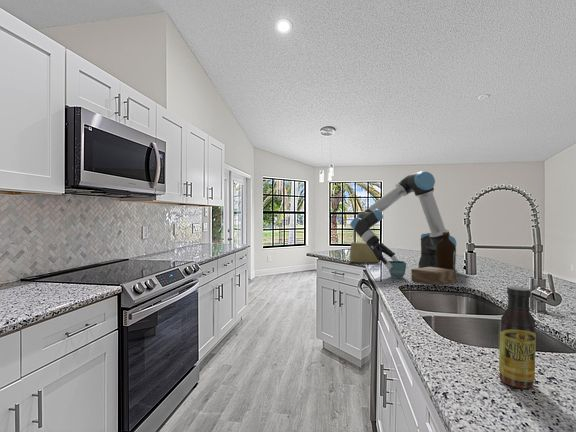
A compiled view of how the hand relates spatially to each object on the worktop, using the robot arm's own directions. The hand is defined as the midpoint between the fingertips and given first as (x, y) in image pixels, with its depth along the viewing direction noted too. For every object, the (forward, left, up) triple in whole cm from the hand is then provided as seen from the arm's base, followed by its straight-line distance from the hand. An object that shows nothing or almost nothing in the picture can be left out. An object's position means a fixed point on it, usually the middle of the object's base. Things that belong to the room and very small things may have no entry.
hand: (395, 266), depth 196 cm
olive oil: (-29, +12, -7) cm, 32 cm away
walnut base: (-9, +18, -6) cm, 21 cm away
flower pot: (-1, 0, -7) cm, 7 cm away
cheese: (-34, -59, -7) cm, 69 cm away
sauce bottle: (+76, +98, -7) cm, 125 cm away
